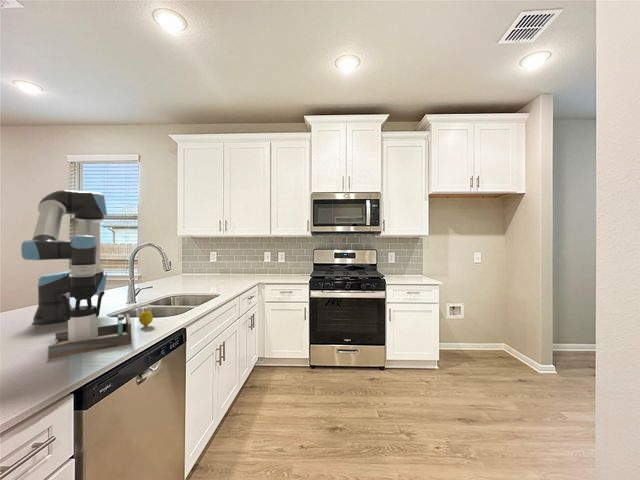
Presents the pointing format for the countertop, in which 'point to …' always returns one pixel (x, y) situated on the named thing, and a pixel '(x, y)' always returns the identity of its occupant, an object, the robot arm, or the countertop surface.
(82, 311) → the jar
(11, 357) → the countertop surface
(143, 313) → the fruit
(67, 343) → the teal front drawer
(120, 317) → the panel
